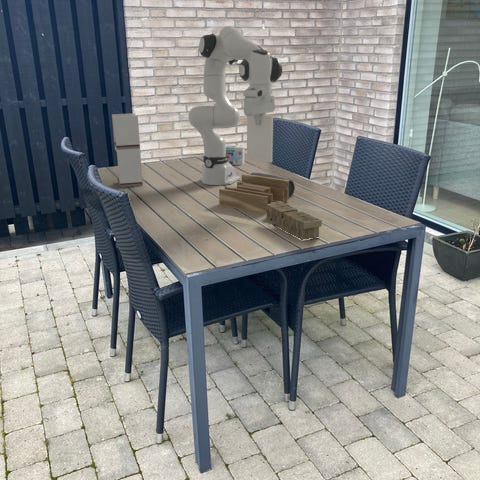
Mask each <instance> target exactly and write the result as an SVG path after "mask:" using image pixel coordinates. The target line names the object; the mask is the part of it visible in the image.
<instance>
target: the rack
mask: <svg viewBox="0 0 480 480" xmlns="http://www.w3.org/2000/svg"><path fill="white" fill-rule="evenodd" d="M289 180H290V179H289ZM289 180H282V179H276V178H269V177H262V176H255V175H250V174H246V173H241V181H236V187H232V186H224V188H219V189H218V196H219V197H218V198H219V199H218V202H219V203H218V206H222V207H228V208H233V209H238V210H244V211H249V212H255V213H258V214H264V215H265V214H266V215H267V204H270V203H271V202H277V201H282V202H283V203H286V204H288V203H289V197H288V196H289ZM244 183H246V184H252V185H258V186H264V187H270V188H271V193H273V194H269V193H262V192H256V191H250V190H244V189H238V188H237V186H238V185H241V184H244Z"/></svg>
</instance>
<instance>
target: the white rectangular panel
mask: <svg viewBox="0 0 480 480" xmlns="http://www.w3.org/2000/svg"><path fill="white" fill-rule="evenodd" d="M259 120H260V121H261V124H260V125H255V119H254V116H246V160H247V161H255V162H260V163H262V162H263V163H269V164H272V163H273V151H274V149H273V147H274V146H273V145H274V114H268V113H266V114H260V117H259Z"/></svg>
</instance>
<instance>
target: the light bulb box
mask: <svg viewBox="0 0 480 480" xmlns="http://www.w3.org/2000/svg"><path fill="white" fill-rule="evenodd" d="M226 155H230V156H231V157H230V159H228V158H227V159H228V162H229V163H230V164H231V165H232V166H243V165H244V164H245V145H235V144H234V145H233V144H231V145H230V144H228V145H227V144H226Z"/></svg>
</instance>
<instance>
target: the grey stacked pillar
mask: <svg viewBox="0 0 480 480" xmlns="http://www.w3.org/2000/svg"><path fill="white" fill-rule="evenodd" d="M111 118H112V120H111V121H112V131H113V132H112V133H113V142H114V150H115V152H116V157H117V170H118V171H117V172H118V178H117V184H118V186H119V188H120V187H121V188H130V187H131V186H133V187H142V186H144V185H143V184H144V183H143V170H142V168H143V167H142V157H141V155H142V154H141V144H140V143H141V142H140V129H139V128H140V127H139V125H140V124H139V116H138V114H136V113H117V114H115V113H114V114H113V113H112V114H111ZM131 188H132V187H131Z"/></svg>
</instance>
